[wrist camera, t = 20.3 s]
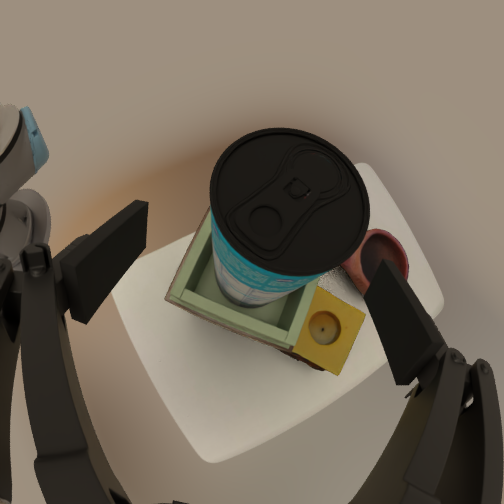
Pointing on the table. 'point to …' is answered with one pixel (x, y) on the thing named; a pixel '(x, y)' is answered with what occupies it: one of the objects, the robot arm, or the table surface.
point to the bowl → (375, 258)
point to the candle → (327, 333)
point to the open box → (221, 309)
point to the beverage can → (282, 214)
